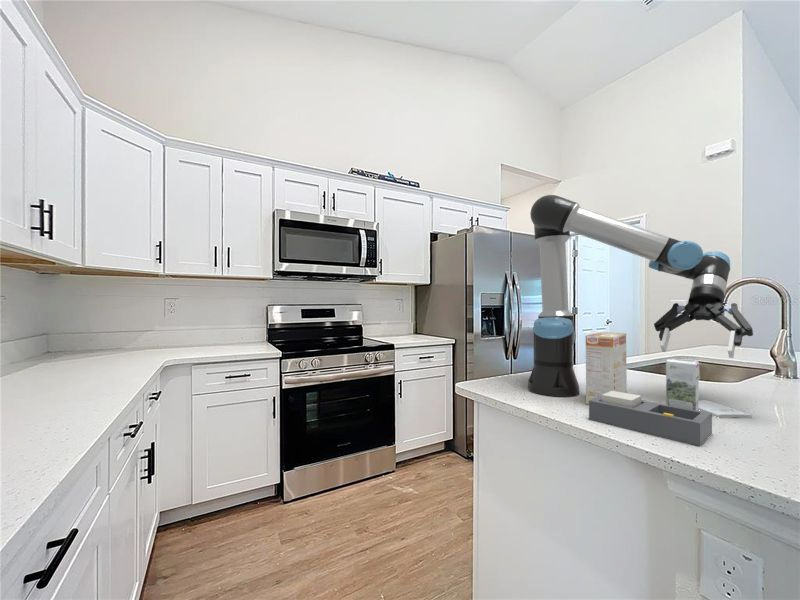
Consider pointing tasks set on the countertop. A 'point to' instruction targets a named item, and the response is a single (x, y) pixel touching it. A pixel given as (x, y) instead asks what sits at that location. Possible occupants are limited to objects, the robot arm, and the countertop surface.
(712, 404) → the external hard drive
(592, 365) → the coffeecake box
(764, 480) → the countertop surface
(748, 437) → the countertop surface
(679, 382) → the syrup box
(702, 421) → the gray desk organizer tray
